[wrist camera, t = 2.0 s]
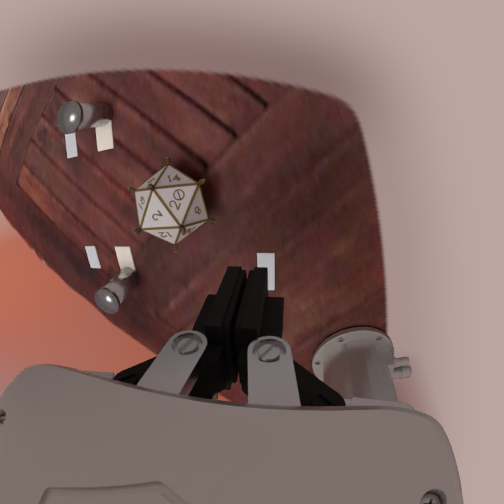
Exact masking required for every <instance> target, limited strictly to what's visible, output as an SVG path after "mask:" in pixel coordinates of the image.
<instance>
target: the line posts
mask: <svg viewBox="0 0 504 504" xmlns="http://www.w3.org/2000/svg"><path fill="white" fill-rule="evenodd" d="M112 116H113V110H112V107H111V106H110V105H109V104H107V103H79V102H77V101H67V102H65V103H64V104H63V105H62V106H61V108H60V109H59V112H58V115H57V125H58V128H59V130H60V131H61V132H62V133H63V134H72V133H74V132H76V131H77V130H80V129H87V128H95V127H103V126H105V125H107V124H108V123H109V122H110V121H111V119H112ZM138 281H139V276H138V273H137V272H136V271H135V270H133V269H132V268H130V267H123V268H122V269H121V270H120V271H119V272H118V273H117V274H116V275H115V276H114V277H113V278H112V279H111V280H110V281H109V282H108V283H107V284H106V285H105V286H104V287H101V288H99V289H98V290H97V291H96V293H95V301H96V303H97V305H98V306H99V307H100V308H101V309H102V310H103V311H105V312H106V313H109V314H114V313H116V312H117V311H118V310H119V308H120V303H121V302H122V301H123V300H124V299H125V297H126V296H127V295H128V294H129V292H130V291H131V290H132V289H133V288H134V286H135V285H136V284H137V283H138Z"/></svg>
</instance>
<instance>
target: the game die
mask: <svg viewBox="0 0 504 504" xmlns="http://www.w3.org/2000/svg"><path fill="white" fill-rule="evenodd" d="M165 160H166V163H167V165H166V166H164V167H163V168H162V169H160V170H159V171H158V172H156V173H155V174H154V175H153V176H151V177H150V178H149V179H148V180H146V181H145V182H144V183H143V184H141V185H140V186H139V187H138V188H136V189H134V188H132V187H130V188H127V189H128V190H129V192H131V193H132V192H134V195H135V202H136V209H137V216H138V222H139V228H138V229H136V230H135V232H134V234H133V235H139V233H140V232H141V231H143V232H146V233H148V234H150V235H153V236H155V237H157V238H159V239H162V240H164V241H166V242H168V243H171V244H173V250H174V251H175V253H176V252H177V250H178V246H177V244H178V243H179V242H180V241H182V240H183V239H184V238H186V237H187V236H188V235H190V234H191V233H192V232H193V231H195V230H196V229H197V228H199V227H200V226H202V225H203V224H204V223H206V222H207V221H209V222H210V223H212V224H213V223H217V222H216V221H215V219H213V218H209V216H208V212H207V208H206V204H205V201H204V197H203V193H202V189H201V185H202V184H204V183H205V179H200V180H198V182H197V181H196V180H194V179H192V178H191V177H189V176H188V175H186V174H185V173H183V172H181V171H180V170H178V169H177V168H175V167H173V166H172V165H170V162H171V161H170V160H171V159H170V158H169V157H168V156H167V158H166V159H165Z"/></svg>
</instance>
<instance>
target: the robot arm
mask: <svg viewBox="0 0 504 504" xmlns="http://www.w3.org/2000/svg"><path fill="white" fill-rule="evenodd" d="M283 310H284V297H268V268H267V267H255V268H254V270H250V271H249V275H248V278H246V270H242V268H241V267H234V266H228V268H227V270H226V273H225V275H224V277H223V280H222V282H221V285H220V287H219V290H218V292H217V295H211V294H209V295H208V296H207V298H206V300H205V302H204V305H203V307H202V309H201V311H200V314H199V316H198V318H197V320H196V323H195V325H194V327H193V329H192V330H187V331H182V332H179V333H177V334H175V335H173V336H172V337H171V338H170V339H169V341H168V342H167V344H166V345H165V346H164V348H163V349H162V350H161V352H160V353H159V355H158V356H156V357H154V358H152V359H149V360H147V361H145V362H143V363H140V364H138V365H135V366H133V367H131V368H128V369H126V370H123V371H121V372H120V373H118V374H117V375H114V373H111V372H94V371H81V370H78V369H74V368H70V367H66V366H61V365H53V364H38V365H32V366H29V367H27V368H25V369H24V370H23V371H21V372H20V373H19V374H18V375H17V376H16V377H15V379H14V380H13V381H12V382H11V383H10V385H9V386H8V387H7V389H6V390H5V391H4V392H3V394H2V395H1V397H0V504H463V496H462V489H461V482H460V477H459V473H458V469H457V464H456V460H455V457H454V453H453V450H452V447H451V445H450V442H449V439H448V437H447V435H446V433H445V431H444V429H443V428H442V426H441V425H440V424H439V422H438V421H437V420H436V419H434V418H433V417H431V416H429V415H427V414H425V413H422V412H419V411H416V410H414V408H413V407H412V406H410V405H409V404H406V403H402V402H398V400H397V396H396V392H395V388H394V384H393V381H392V379H394V378H408V377H410V376H411V367H410V366H408V365H409V358H408V357H402V358H395V357H393V355H394V347H393V344H392V341H391V339H390V338H389V336H388V335H387V334H386V333H384V332H383V331H381V330H379V329H376V328H372V327H354V328H348V329H345V330H342V331H339V332H337V333H335V334H333V335H331V336H330V337H328V338H326V339H325V340H324V341H323V342H322V343H321V344H320V345H319V346H318V347H317V348H316V350H315V352H314V354H313V358H312V368H313V372H314V374H315V376H316V377H315V376H314V375H313V374H311V373H310V372H309V371H307V370H306V369H305V368H303V367H302V366H301V365H299V364H298V363H297V362H295V361H294V360H293V358H292V353H291V348H290V346H289V344H288V343H287V342H286V341H285V340H283V339H282V332H283ZM396 366H400V367H397V368H395V367H396ZM238 373H239V377H240V383H241V385H242V391H243V392H244V393H245V394H246V395H247V396H248V403H238V402H229V401H220V400H217V399H218V392H220V391H222V390H224V389H227V390H230V388H231V383H232V382H233V383H236V382H237V377H238Z"/></svg>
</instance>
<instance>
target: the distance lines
mask: <svg viewBox="0 0 504 504" xmlns="http://www.w3.org/2000/svg"><path fill="white" fill-rule="evenodd" d="M96 137H97V147H98V151H102V150H107V149H112V148H114V143H113V132H112V120H111V121H110V122H109V123H108V124H107V125H105V126H103V127H96ZM65 139H66V148H67V157H68V158H71V157H75V156H78V150H77V140H76V132H74V133H72V134H65ZM85 248H86V252H87V255H88V259H89V262H90V266H91V268H101V265H100V261H99V258H98V254H97V250H96V246H85ZM115 250H116V254H117V258H118V262H119V266H120V269H122V268H123V267H130V268H132V269H133V270H135V265H134V261H133V257H132V253H131V248H130V246H115ZM257 264H258V267H267V268H268V290H275V253H257Z"/></svg>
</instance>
